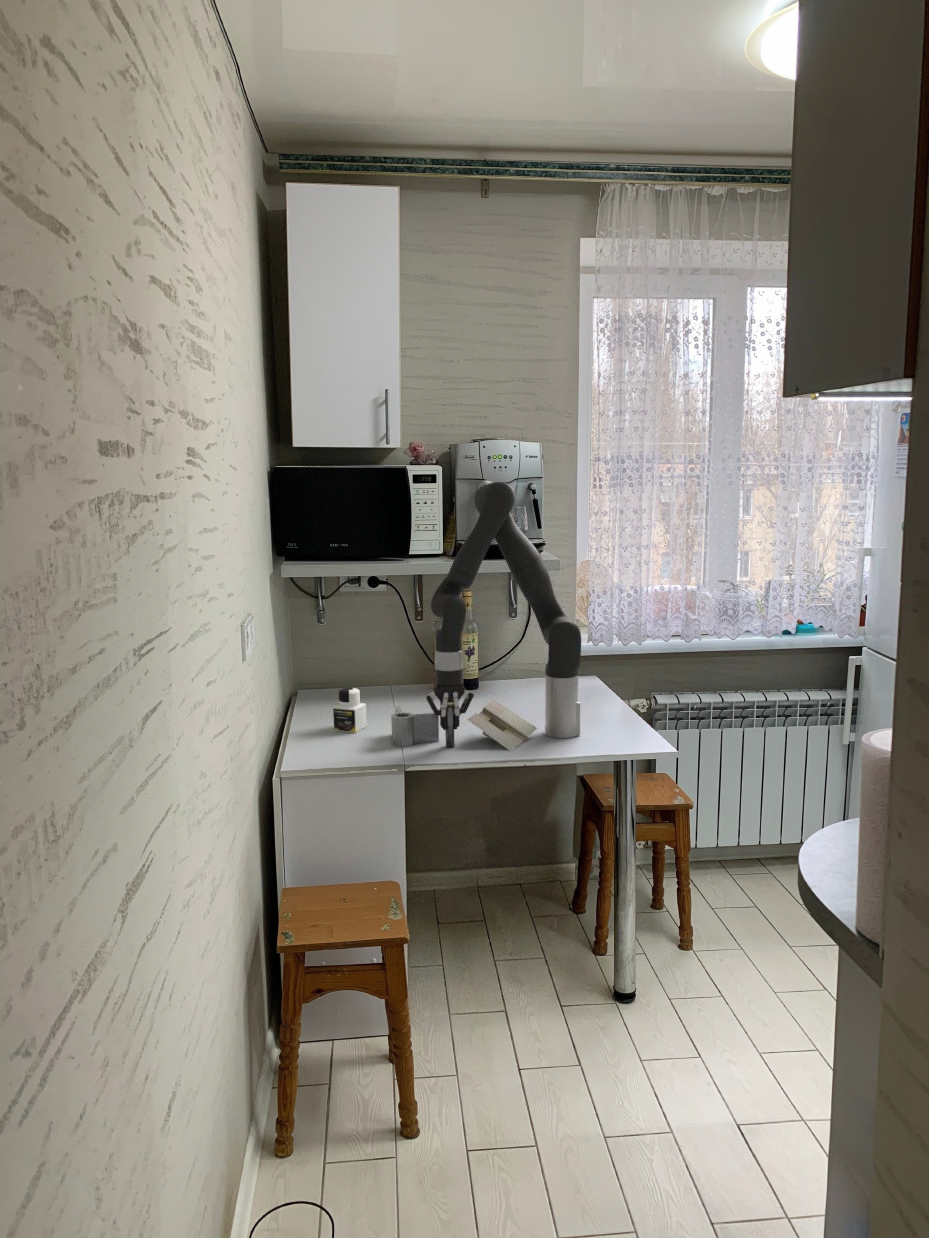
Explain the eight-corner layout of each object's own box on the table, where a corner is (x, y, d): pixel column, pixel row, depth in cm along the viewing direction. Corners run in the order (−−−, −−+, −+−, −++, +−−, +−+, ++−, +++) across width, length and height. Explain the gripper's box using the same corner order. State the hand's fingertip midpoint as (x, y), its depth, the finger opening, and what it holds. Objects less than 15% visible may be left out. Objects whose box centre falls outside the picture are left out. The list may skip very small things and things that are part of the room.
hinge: (432, 731, 264) (431, 704, 263) (440, 743, 252) (440, 715, 250) (387, 734, 261) (387, 706, 260) (393, 747, 249) (393, 718, 248)
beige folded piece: (522, 745, 263) (486, 708, 266) (539, 727, 258) (501, 690, 261) (494, 770, 250) (456, 731, 253) (511, 751, 245) (472, 712, 248)
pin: (455, 744, 251) (454, 699, 249) (457, 747, 248) (456, 702, 246) (442, 745, 250) (442, 699, 248) (445, 748, 247) (444, 702, 245)
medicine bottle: (333, 731, 265) (332, 690, 263) (345, 724, 272) (344, 685, 270) (355, 733, 263) (354, 692, 261) (366, 726, 269) (365, 687, 267)
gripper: (471, 662, 251) (471, 723, 253) (421, 665, 248) (422, 726, 251) (477, 668, 243) (477, 730, 246) (425, 670, 240) (426, 734, 243)
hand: (449, 728), depth 248 cm, fingers closed on pin, 2 cm apart
